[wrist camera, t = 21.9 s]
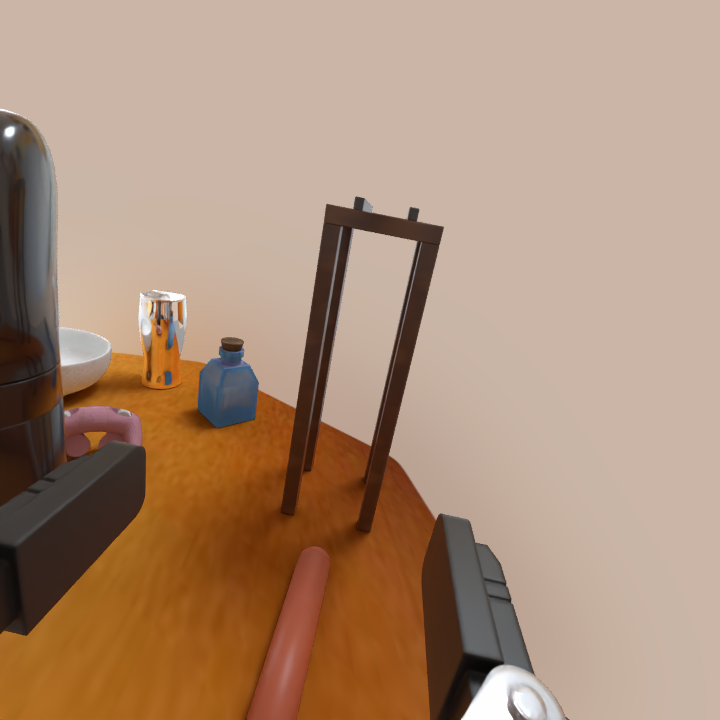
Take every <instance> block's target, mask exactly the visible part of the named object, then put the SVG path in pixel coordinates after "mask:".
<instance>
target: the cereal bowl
mask: <svg viewBox="0 0 720 720" xmlns="http://www.w3.org/2000/svg"><path fill="white" fill-rule="evenodd" d="M59 344H60V359H61V372H62V389H63V396H65V395H68V394H70V393H74V392H77V391H80V390H82V389H85V388H87V387H89V386H91V385H93V384H94V383H96V382H97V381H98V380H99V379H100V378H102V376H103V375H104V374H105V372H106V371H107V369H108V367H109V364H110V360H111V351H112V348H111V344H110V342H109V341H108V340H107V339H105V338H104V337H102V336H99V335H97V334H94V333H91V332H88V331H83V330H78V329H71V328H62V327H59Z"/></svg>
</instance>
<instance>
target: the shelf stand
mask: <svg viewBox="0 0 720 720" xmlns="http://www.w3.org/2000/svg"><path fill="white" fill-rule="evenodd" d="M372 208H373V207H372V206H371V205H370V203H368V201H367V200H366V199H364V198H361V197H355V202H354V209H350V208H345V207H340V206H334V205H330V204H327V205H326V211H325V217H324V225H323V231H322V239H321V245H320V252H319V258H318V265H317V272H316V279H315V285H314V292H313V299H312V305H311V312H310V319H309V326H308V332H307V339H306V347H305V353H304V359H303V366H302V373H301V380H300V386H299V394H298V400H297V407H296V413H295V420H294V427H293V434H292V440H291V447H290V454H289V461H288V467H287V474H286V481H285V488H284V494H283V501H282V508H281V512H282V513H286V514H291V515H294V514H295V511H296V508H297V505H298V499H299V493H300V487H301V481H302V474H303V469H304V470H309V471H311V469H312V466H313V463H314V457H315V451H316V445H317V440H318V434H319V428H320V422H321V416H322V410H323V405H324V398H325V393H326V387H327V381H328V375H329V370H330V364H331V358H332V352H333V347H334V340H335V335H336V329H337V322H338V317H339V312H340V305H341V300H342V294H343V289H344V282H345V277H346V271H347V265H348V259H349V254H350V248H351V242H352V236H353V230H354V229H360V230H364V231H370V232H375V233H380V234H385V235H390V236H395V237H400V238H405V239H410V240H415V241H417V243H416V248H415V253H414V257H413V261H412V266H411V270H410V275H409V279H408V284H407V289H406V293H405V298H404V302H403V306H402V311H401V315H400V320H399V324H398V329H397V333H396V337H395V342H394V347H393V351H392V355H391V360H390V364H389V369H388V373H387V378H386V383H385V387H384V391H383V396H382V400H381V405H380V409H379V414H378V418H377V423H376V427H375V431H374V436H373V440H372V445H371V449H370V454H369V458H368V463H367V467H366V472H365V476H364V483H366V487H365V491H364V496H363V500H362V505H361V509H360V514H359V518H358V524H357V529H358V530H362V531H366V532H370V530H371V526H372V522H373V518H374V514H375V510H376V506H377V502H378V497H379V493H380V489H381V485H382V481H383V477H384V473H385V468H386V464H387V460H388V456H389V452H390V448H391V444H392V439H393V435H394V431H395V427H396V423H397V418H398V415H399V410H400V406H401V402H402V398H403V394H404V389H405V386H406V381H407V377H408V373H409V369H410V365H411V361H412V357H413V353H414V348H415V344H416V340H417V336H418V332H419V328H420V324H421V319H422V315H423V311H424V307H425V303H426V299H427V295H428V291H429V286H430V282H431V278H432V274H433V270H434V266H435V262H436V258H437V253H438V249H439V245H440V241H441V237H442V232H443V229H444V227H442V226H437V225H432V224H427V223H422V222H417V218H418V213H419V209H417V208H412V207H410V209H409V212H408V215H407V219H401V218H396V217H391V216H386V215H380V214H376V213H372Z"/></svg>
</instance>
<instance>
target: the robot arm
mask: <svg viewBox="0 0 720 720" xmlns="http://www.w3.org/2000/svg"><path fill="white" fill-rule="evenodd" d="M57 233H58V196H57V182H56V174H55V167H54V162H53V158H52V155H51V152H50V149H49V147H48V145H47V143H46V140H45V138H44V137H43V135H42V134H41V132H40V131H39V130H38V128H37V127H36V126H35V125H34V124H33V123H32V122H30V121H29V120H28V119H26V118H24V117H23V116H20V115H17V114H15V113H12V112H9V111H6V110H2V109H0V634H1V633H2V632H3V631H9V632H13V633H17V634H21V635H25V636H27V635H28V634H29V633H30V631H31V630H32V629H33V628H34V627H35V626H36V625H37V624H38V623H39V622H40V621H41V619H42V618H43V617H44V616H45V615H46V614H47V613H48V612H49V611H50V610H51V609H52V607H53V606H54V605H55V604H56V603H57V602H58V601H59V600H60V599H61V598H62V597H63V596H64V594H65V593H66V592H67V591H68V590H69V589H70V588H71V587H72V586H73V585H74V584H75V582H76V581H77V580H78V579H79V578H80V577H81V576H82V575H83V574H84V573H85V572H86V570H87V569H88V568H89V567H90V566H91V565H92V564H93V563H94V562H95V561H96V560H97V558H98V557H99V556H100V555H101V554H102V553H103V552H104V551H105V550H106V549H107V548H108V546H109V545H110V544H111V543H112V542H113V541H114V540H115V539H116V538H117V537H118V536H119V535H120V533H121V532H122V531H123V530H124V529H125V528H126V527H127V526H128V525H129V524H130V523H131V521H132V520H133V519H134V518H135V517H136V516H137V514H138V513H139V511H140V509H141V507H142V504H143V502H144V498H145V477H146V452H145V449H144V447H142V446H139V445H134V444H130V443H125V442H121V441H116V440H113V441H110V442H109V443H107V444H106V445H104V446H103V447H102V448H100V449H99V450H97V451H96V452H95V453H93V454H92V455H91V456H90V455H84V456H81V457H79V458H76V459H74V460H71V461H69V462H67V451H66V435H65V418H64V402H63V389H62V372H61V359H60V344H59V309H58V286H57V236H58V234H57ZM422 597H423V613H424V628H425V643H426V659H427V674H428V689H429V704H430V720H569V719H568V718H567V717H565V714H564V712H563V710H562V708H561V706H560V704H559V702H558V701H557V699H556V698H555V696H554V695H553V694H552V692H551V691H550V690H549V689H548V687H547V686H546V685H545V684H544V683H543V682H542V681H541V680H539V679H538V678H537V677H536V676H535V674H534V671H533V668H532V665H531V662H530V659H529V655H528V652H527V649H526V645H525V643H524V639H523V636H522V632H521V629H520V626H519V623H518V619H517V616H516V613H515V609H514V606H513V604H511V596H510V593H509V590H508V587H506V580H505V577H504V574H503V570H502V567H501V564H500V562H499V561H498V559H497V558H496V557H495V555H494V554H493V553H492V551H491V550H490V548H489V547H488V546H487V545H484V544H480V543H475V539H474V535H473V531H472V527H471V524H470V521H469V520H467V519H463V518H459V517H454V516H449V515H445V514H439V516H438V518H437V520H436V523H435V526H434V530H433V533H432V536H431V539H430V542H429V545H428V549H427V552H426V555H425V558H424V563H423V569H422Z"/></svg>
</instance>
